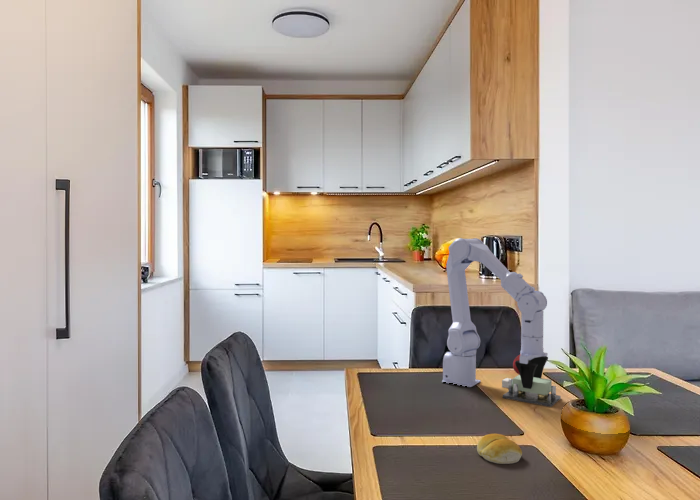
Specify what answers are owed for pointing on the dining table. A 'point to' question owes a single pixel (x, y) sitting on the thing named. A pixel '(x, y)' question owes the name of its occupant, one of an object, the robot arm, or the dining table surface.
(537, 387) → the pale green block
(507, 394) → the chassis
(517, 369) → the onion
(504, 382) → the stand
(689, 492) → the dining table surface
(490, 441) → the bread roll
